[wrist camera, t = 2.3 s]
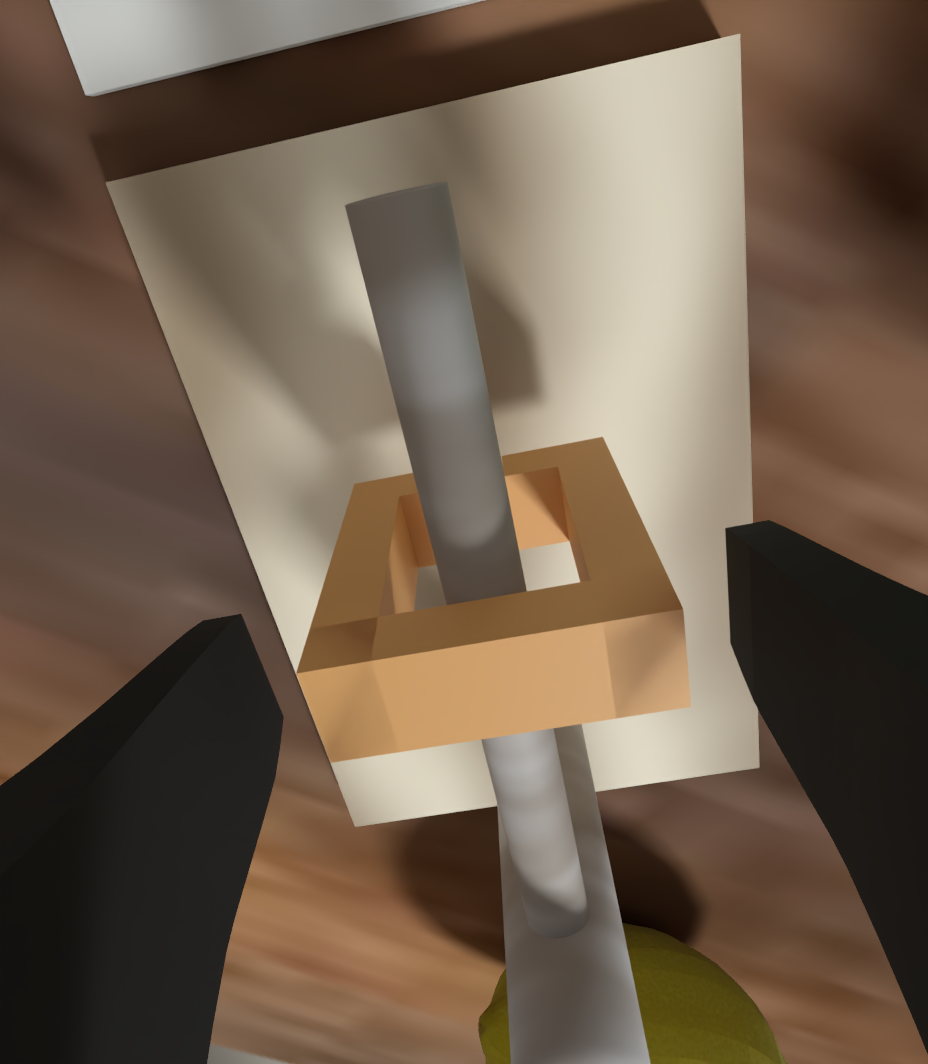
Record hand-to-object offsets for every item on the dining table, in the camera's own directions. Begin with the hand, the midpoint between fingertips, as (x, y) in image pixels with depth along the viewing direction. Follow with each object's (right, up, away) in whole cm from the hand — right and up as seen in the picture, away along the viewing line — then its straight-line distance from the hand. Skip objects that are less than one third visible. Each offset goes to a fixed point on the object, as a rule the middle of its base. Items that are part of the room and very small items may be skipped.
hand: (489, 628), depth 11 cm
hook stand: (0, +2, +8) cm, 8 cm away
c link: (0, +2, +4) cm, 5 cm away
